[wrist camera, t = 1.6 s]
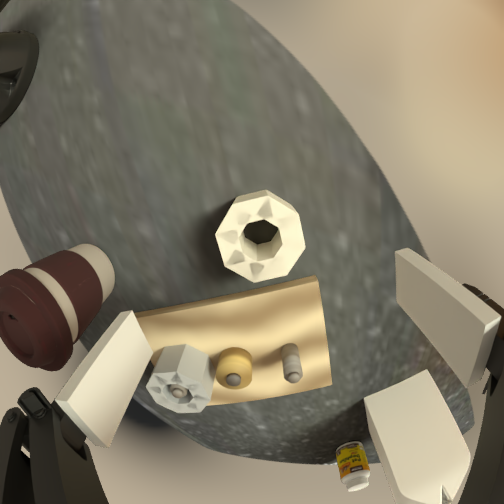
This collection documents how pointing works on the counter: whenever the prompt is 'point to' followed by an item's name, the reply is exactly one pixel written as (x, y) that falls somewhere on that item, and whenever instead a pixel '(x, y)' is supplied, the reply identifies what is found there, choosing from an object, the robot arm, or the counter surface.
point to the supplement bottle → (353, 465)
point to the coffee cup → (53, 304)
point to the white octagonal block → (265, 254)
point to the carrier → (250, 340)
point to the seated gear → (182, 378)
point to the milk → (417, 441)
